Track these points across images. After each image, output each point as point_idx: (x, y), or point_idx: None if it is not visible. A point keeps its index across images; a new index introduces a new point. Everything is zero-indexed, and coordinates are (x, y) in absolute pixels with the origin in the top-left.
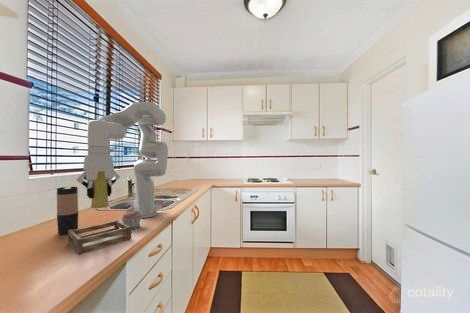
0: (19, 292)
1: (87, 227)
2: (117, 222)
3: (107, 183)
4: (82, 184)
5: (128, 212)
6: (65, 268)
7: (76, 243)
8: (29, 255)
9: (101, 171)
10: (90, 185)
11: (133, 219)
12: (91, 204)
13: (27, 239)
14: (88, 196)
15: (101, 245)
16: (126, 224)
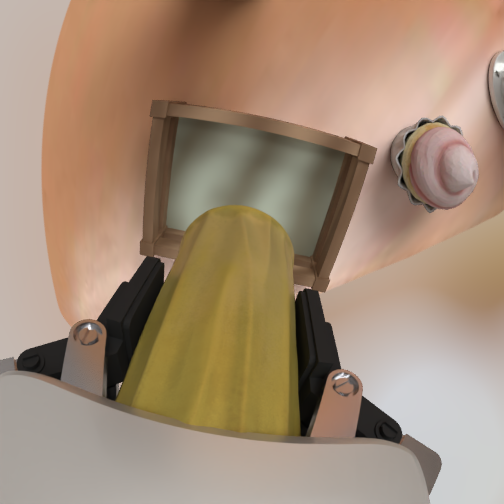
0: (66, 294)
1: (227, 123)
2: (352, 179)
3: (320, 403)
4: (36, 351)
5: (432, 181)
6: (120, 280)
7: (163, 186)
8: (78, 117)
9: None
10: (107, 395)
11: (415, 202)
12: (183, 241)
13: None
14: (145, 259)
15: None
16: (395, 164)
